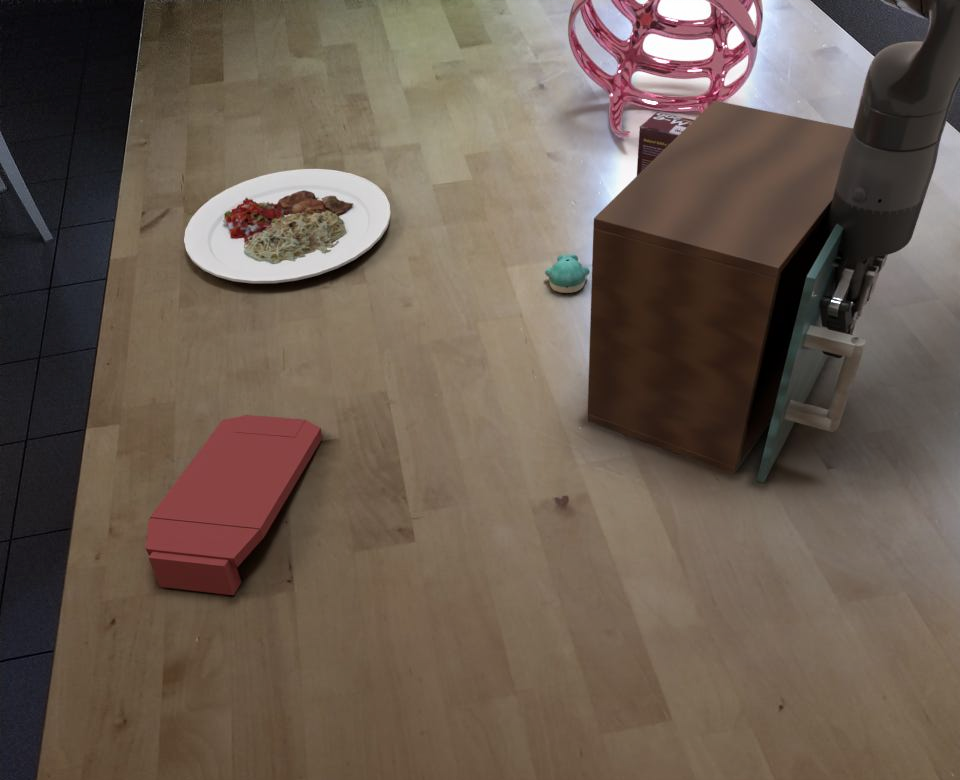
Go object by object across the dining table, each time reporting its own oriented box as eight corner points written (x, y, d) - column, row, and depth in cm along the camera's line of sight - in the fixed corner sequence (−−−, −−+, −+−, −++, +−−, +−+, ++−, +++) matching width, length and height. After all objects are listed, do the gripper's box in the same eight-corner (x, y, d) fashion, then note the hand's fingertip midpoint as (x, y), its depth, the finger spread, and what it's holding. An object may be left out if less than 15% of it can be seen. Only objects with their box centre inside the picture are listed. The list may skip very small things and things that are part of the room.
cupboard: (825, 342, 107) (883, 134, 88) (734, 474, 95) (779, 267, 76) (687, 301, 114) (714, 100, 95) (587, 420, 102) (593, 218, 83)
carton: (236, 448, 109) (141, 584, 92) (227, 413, 105) (126, 547, 88) (331, 457, 107) (252, 597, 90) (324, 421, 103) (240, 560, 86)
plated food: (386, 285, 121) (382, 262, 118) (169, 300, 123) (161, 278, 120) (397, 174, 139) (393, 151, 136) (207, 188, 140) (200, 166, 138)
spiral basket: (696, 49, 112) (755, -163, 112) (512, 73, 128) (564, -113, 127) (755, 175, 136) (804, 1, 136) (593, 183, 151) (637, 26, 151)
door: (878, 354, 105) (949, 146, 86) (813, 498, 92) (879, 292, 73) (827, 341, 107) (885, 136, 88) (756, 481, 94) (806, 276, 75)
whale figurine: (543, 297, 117) (543, 270, 114) (546, 265, 121) (546, 238, 118) (588, 296, 116) (589, 270, 113) (590, 264, 120) (590, 238, 117)
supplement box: (703, 246, 121) (720, 123, 108) (687, 264, 119) (702, 140, 106) (646, 230, 124) (656, 109, 112) (629, 247, 122) (637, 126, 109)
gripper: (900, 232, 74) (847, 400, 88) (948, 159, 80) (891, 327, 94) (811, 212, 77) (774, 378, 91) (864, 143, 83) (821, 308, 97)
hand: (834, 352), depth 92 cm, fingers closed
